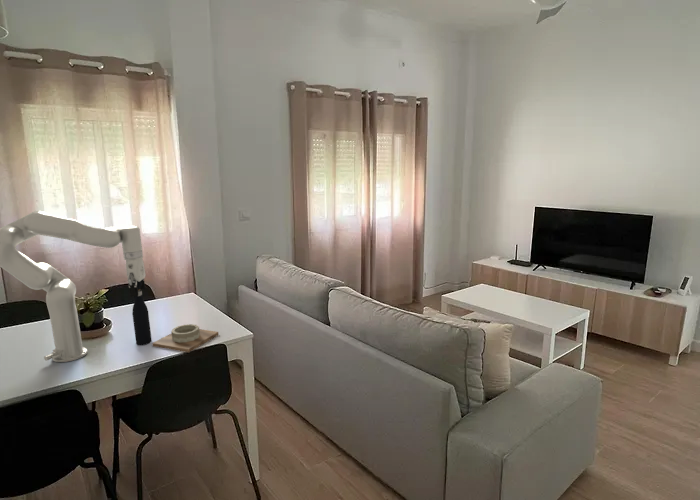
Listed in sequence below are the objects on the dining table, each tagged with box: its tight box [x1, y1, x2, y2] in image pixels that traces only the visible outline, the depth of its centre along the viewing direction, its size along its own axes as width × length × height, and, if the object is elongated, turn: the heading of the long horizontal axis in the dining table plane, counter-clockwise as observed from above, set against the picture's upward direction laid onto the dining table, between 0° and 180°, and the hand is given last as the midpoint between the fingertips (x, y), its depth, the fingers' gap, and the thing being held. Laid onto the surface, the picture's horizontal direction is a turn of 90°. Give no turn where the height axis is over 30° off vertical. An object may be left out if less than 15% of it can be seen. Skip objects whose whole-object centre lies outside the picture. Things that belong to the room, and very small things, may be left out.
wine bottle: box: [132, 281, 153, 346], centre depth 193 cm, size 6×6×30 cm
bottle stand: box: [152, 323, 219, 353], centre depth 197 cm, size 20×20×6 cm
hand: (138, 292), depth 192 cm, fingers open, 9 cm apart
